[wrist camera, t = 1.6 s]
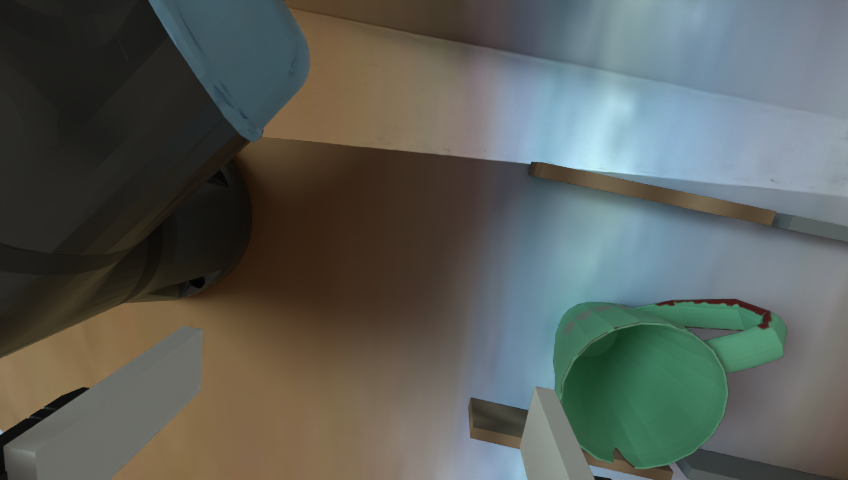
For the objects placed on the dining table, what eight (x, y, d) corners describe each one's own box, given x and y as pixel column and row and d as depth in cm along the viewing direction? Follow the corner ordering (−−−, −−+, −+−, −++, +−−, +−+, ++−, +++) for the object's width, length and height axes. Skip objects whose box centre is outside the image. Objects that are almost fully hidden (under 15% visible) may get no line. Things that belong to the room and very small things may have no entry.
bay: (468, 407, 36) (470, 437, 32) (531, 161, 32) (542, 162, 28) (645, 447, 36) (669, 482, 32) (735, 204, 31) (776, 211, 27)
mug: (554, 398, 35) (593, 490, 26) (510, 301, 34) (534, 359, 24) (723, 336, 33) (836, 410, 24) (684, 229, 32) (787, 261, 22)
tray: (668, 452, 36) (687, 478, 33) (761, 210, 31) (793, 215, 28) (861, 495, 35) (898, 526, 32) (984, 256, 31) (1040, 267, 28)
